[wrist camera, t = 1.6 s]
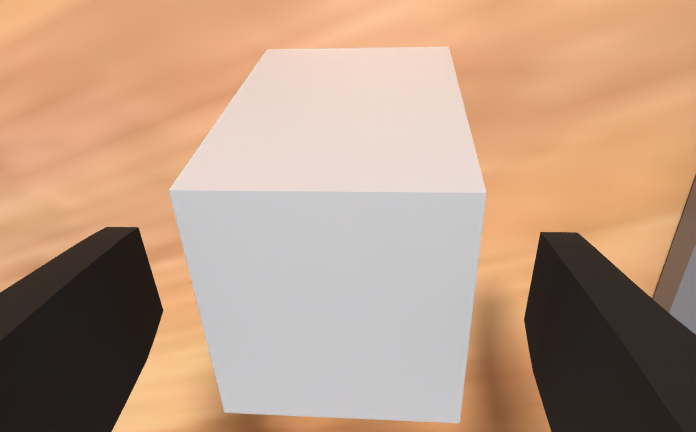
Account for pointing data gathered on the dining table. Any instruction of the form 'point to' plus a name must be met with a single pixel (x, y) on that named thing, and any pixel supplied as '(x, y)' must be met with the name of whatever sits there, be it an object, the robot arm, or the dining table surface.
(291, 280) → the block
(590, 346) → the robot arm
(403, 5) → the dining table surface
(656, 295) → the rail board
